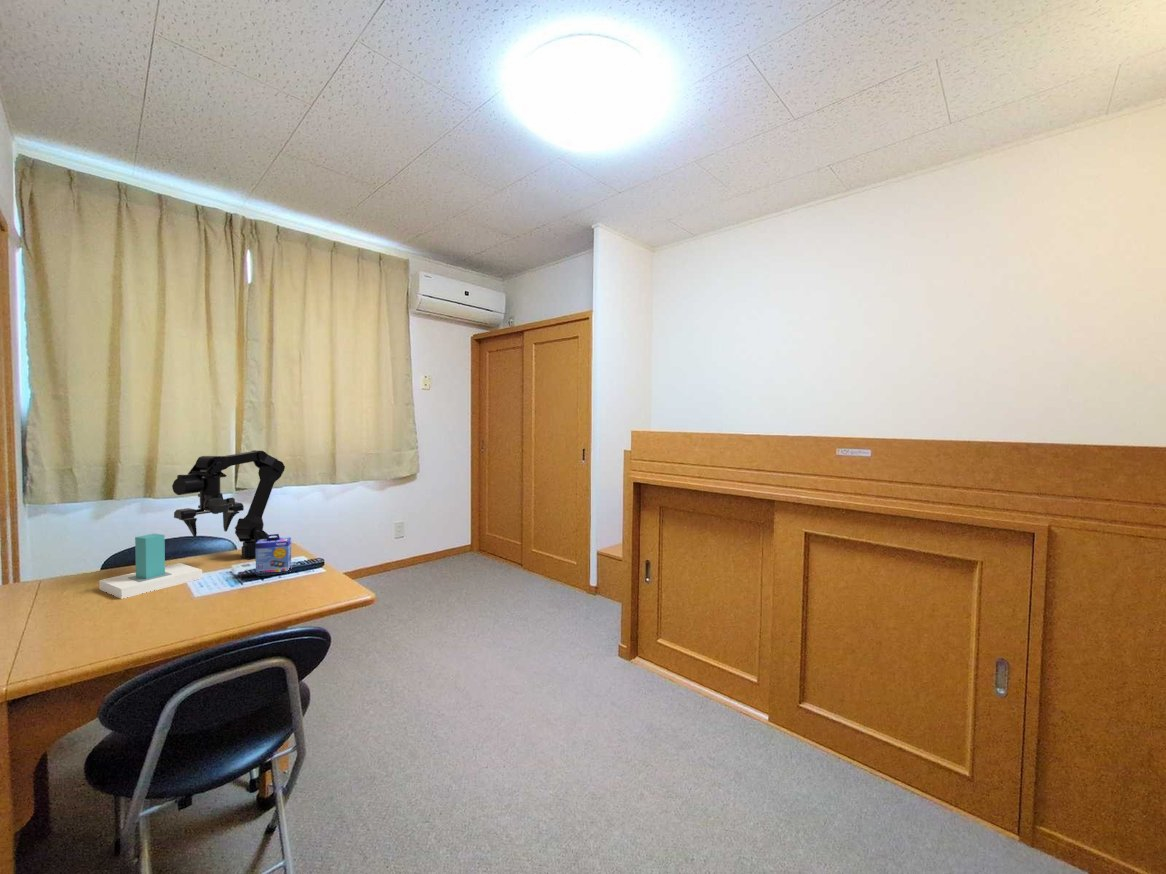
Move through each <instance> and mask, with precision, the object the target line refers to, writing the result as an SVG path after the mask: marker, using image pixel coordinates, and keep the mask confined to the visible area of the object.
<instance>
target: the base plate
mask: <svg viewBox="0 0 1166 874" xmlns="http://www.w3.org/2000/svg"><path fill="white" fill-rule="evenodd" d="M198 579H199V580H201V579H203V569H201V568H197V567H194V566H190V565H187V564H185V563H181V562H177V563H172V564H168V565H165V574H163V575H160V576H156V577H152V578H148V579H143V578H137V577H136V571H135V572H132V573H127V574H122V575H117V576H112V577H109V578H108V577H107V578H104V579H100V580H98V581H99V590H100V591H102V592H104V593H106V592H107V593H106V594H109V595H111V594H112V595H111V596H113V595H114V597H116V598H118V599H120V600H123V598H124V599H127V597H128V598H131V597H135V596H138V595H142V593H143V594H147V593H151V592H155V591H158V590H163V589H166V588H170V587H173V586H174V587H175V586H179V585H182V584H186V583H190V582H194V580H195V581H197V580H198ZM154 590H155V591H154ZM150 591H151V592H150ZM146 592H147V593H146Z"/></svg>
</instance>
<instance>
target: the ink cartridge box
mask: <svg viewBox="0 0 1166 874" xmlns="http://www.w3.org/2000/svg"><path fill="white" fill-rule="evenodd" d="M290 565H291V566H292V537H291V536H287V537H280V534H279V533H273V534H268V535H267V539H261V540H258V541H257V542H256V558H255V573H256V572H258V571H264V572H265V571H266V572H281V571H288V570H289V568H290Z"/></svg>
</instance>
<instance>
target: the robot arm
mask: <svg viewBox="0 0 1166 874" xmlns="http://www.w3.org/2000/svg"><path fill="white" fill-rule="evenodd" d="M247 463H253V464H254V466H255V467H256V468H258V472H257V473H258V477H259V478H258V479H259V482H258V484H257V487H256V490H255V492H254V496H253V498H252V501H251V503H250V506H249V509H248V511H247V514H246V515H245V516H244V517H243V518H238V520H237V523H236V525H235V527H234V529H235V531H234V534H235V536H236V537H237V538H238V541H239V542H241V543H242V546H241V556H240V558H242V559H247V560H253V559H256V542H257V541H258V540H261V539H267V535H269V534H268V533H267V532H266V531H264V525H265V524H264V521H263V516H264V513H265V510H266V506H267V504H268V501H269V499H270V496H271V493H272V489H273V488H274V485H275V483H276V482H277V481H278V480H279V479H280V478H281V477H282V475H283V474H284V472H285V469H286V467H285V464H284V462H283V461H281V460H279V459H277V458H276V457H274V456H271V455H269V454H268V453H267V452H265V451H264V450H250V451H246V452H239V453H234V454H233V453H232V454H227V455H202V456H198V458H197V460H195V464H194V465H193V466H192V467H191V469H190V471H188V473H187V474H177V476H176V479H175V480H174V481H173V482H172V483H173V484H171V486H172V490H173V493H174V494H176V495H177V496H182V495H190V494H197V493H198V494H197V498H199V504H198V506H197V509H195V508H190V507H187V508H179V509H176V510H175V511H174V512H173V518H174V519H178V521H182V522H184V524H185V525H186V527H188V529H189V531H190V534H192V536H193V537H194V538H196V537H197V534H198V533H197V520H198V518H197V517H196V516H198V515H203V514H213V515H218V514H221V513H222V522H223V523H222V525H223V526H222V527H223V531H224V533H225V532H228V529H229V527H230V525H231V522H232V520H233V518H234V517H235V516H236V515H237V514H240V512H242V511H245V509H244V507H245V506H244V504H243V503H242V502H238V501H237V502H236V500H235V498H234V497H227V498H224V497H223V493H221V478H226V477H227V474H226V473H223V472H222V471H224V470H227V469H228V468H230V467H231V466H237V465H242V464H247Z"/></svg>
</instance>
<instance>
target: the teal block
mask: <svg viewBox="0 0 1166 874" xmlns="http://www.w3.org/2000/svg"><path fill="white" fill-rule="evenodd" d="M134 541H135V544H134V547H135V553H134V554H135V572H136V577H137V578H143V579H148V578H152V577H156V576H160V575H163V574H165V566H166V560H165V559H166V556H165V553H166V551H165V550H166V549H165V543H166V542H165V541H166V540H165V534H163V533H161V534H159V533H150V534H145V535H139V536H135V539H134Z"/></svg>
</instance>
